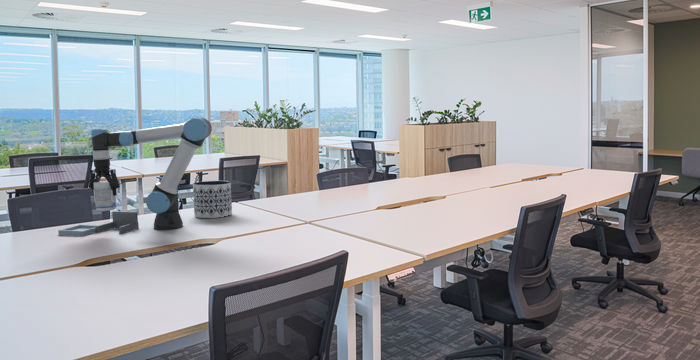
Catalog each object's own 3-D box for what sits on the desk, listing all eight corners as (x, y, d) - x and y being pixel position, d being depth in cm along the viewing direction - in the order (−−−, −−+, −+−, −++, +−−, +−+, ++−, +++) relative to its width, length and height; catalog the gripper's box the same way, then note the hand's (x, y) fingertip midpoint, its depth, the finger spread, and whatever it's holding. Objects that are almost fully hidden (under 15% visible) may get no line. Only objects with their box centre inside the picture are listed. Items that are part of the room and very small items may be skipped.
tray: (103, 230, 287) (103, 225, 286) (83, 236, 272) (82, 231, 272) (80, 229, 290) (79, 224, 290) (58, 234, 276) (58, 230, 276)
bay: (114, 227, 294) (113, 211, 293) (138, 228, 290) (137, 212, 289) (96, 232, 280) (94, 215, 279) (121, 233, 276) (120, 216, 275)
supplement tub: (117, 210, 274) (115, 181, 272) (97, 212, 269) (94, 183, 267) (114, 207, 282) (111, 180, 280) (94, 209, 277) (92, 181, 275)
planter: (227, 218, 315) (225, 184, 313) (189, 219, 315) (187, 185, 313) (235, 212, 337) (234, 180, 335) (200, 212, 337) (199, 180, 335)
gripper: (125, 157, 273) (128, 200, 276) (88, 158, 279) (92, 200, 281) (115, 159, 266) (119, 203, 268) (77, 159, 271) (82, 203, 274)
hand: (105, 201), depth 275 cm, fingers closed on supplement tub, 10 cm apart
